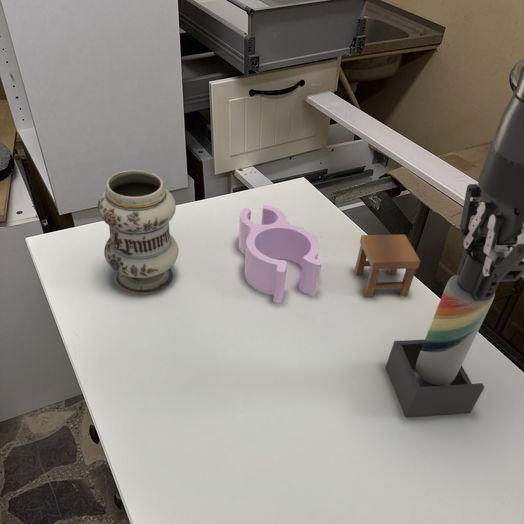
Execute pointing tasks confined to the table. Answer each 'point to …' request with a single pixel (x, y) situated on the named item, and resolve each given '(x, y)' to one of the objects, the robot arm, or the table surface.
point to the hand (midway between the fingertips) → (472, 286)
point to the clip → (277, 252)
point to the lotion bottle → (454, 323)
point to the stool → (386, 261)
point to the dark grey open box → (432, 397)
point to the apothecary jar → (139, 230)
